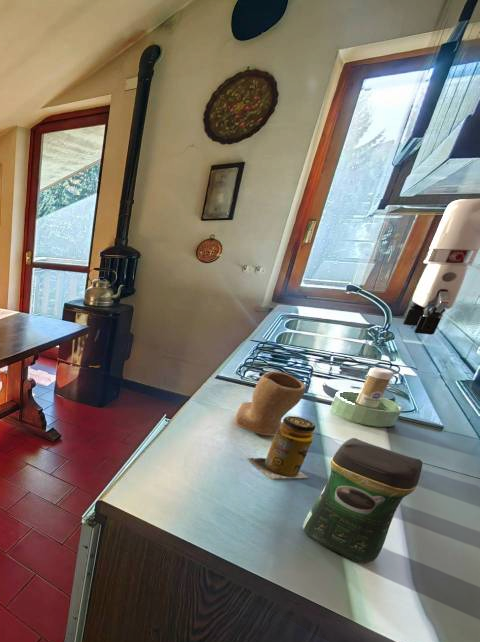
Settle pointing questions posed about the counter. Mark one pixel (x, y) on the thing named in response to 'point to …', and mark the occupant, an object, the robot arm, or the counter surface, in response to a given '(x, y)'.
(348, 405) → the bowl
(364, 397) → the sprinkles bottle
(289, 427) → the condiment
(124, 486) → the counter surface
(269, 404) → the brown boot planter
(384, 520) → the coffee jar
